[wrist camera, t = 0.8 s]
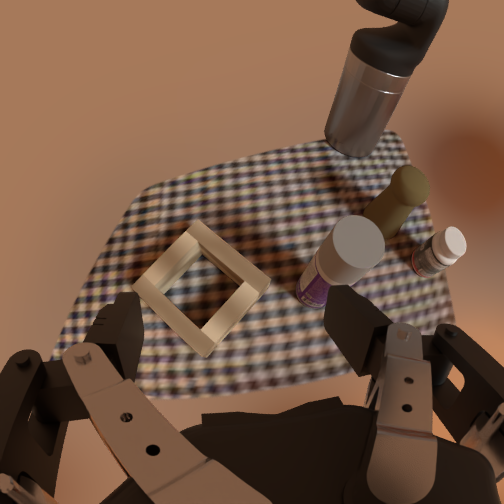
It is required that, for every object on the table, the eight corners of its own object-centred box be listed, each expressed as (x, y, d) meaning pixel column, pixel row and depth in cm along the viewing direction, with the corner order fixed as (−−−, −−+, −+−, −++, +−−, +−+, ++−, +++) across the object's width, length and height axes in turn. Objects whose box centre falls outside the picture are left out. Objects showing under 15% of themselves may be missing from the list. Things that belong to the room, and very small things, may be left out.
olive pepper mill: (356, 223, 38) (389, 178, 28) (371, 195, 40) (402, 149, 30) (390, 247, 37) (431, 209, 27) (403, 217, 39) (440, 177, 29)
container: (338, 296, 34) (396, 251, 20) (308, 316, 33) (355, 281, 19) (318, 265, 36) (362, 204, 22) (288, 283, 35) (318, 229, 21)
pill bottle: (425, 243, 38) (456, 218, 30) (439, 270, 36) (473, 249, 28) (405, 255, 37) (436, 230, 29) (420, 283, 35) (455, 263, 27)
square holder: (201, 233, 37) (197, 219, 33) (267, 288, 34) (271, 279, 31) (142, 295, 33) (131, 286, 30) (206, 357, 31) (201, 356, 27)
